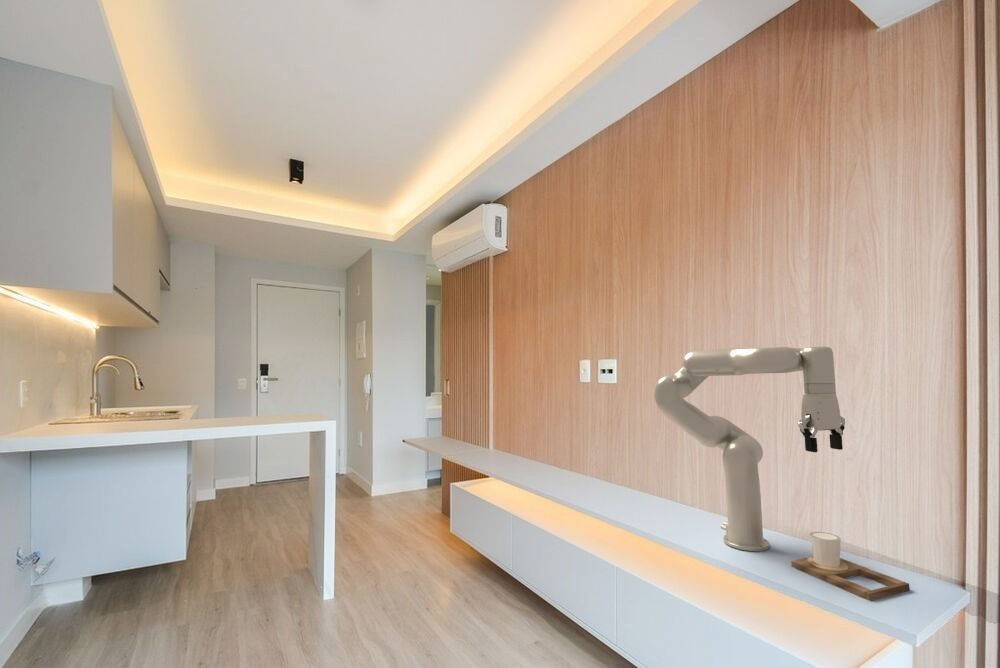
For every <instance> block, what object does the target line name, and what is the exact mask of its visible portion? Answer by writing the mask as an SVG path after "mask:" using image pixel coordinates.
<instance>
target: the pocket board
mask: <svg viewBox="0 0 1000 668" xmlns="http://www.w3.org/2000/svg"><path fill="white" fill-rule="evenodd" d="M790 567H791V568H793V569H796V570H797V571H800V572H802V573H805V574H806V575H810V576H811V577H815V578H816V579H819V580H821V581H823V582H826V583H828V584H831V585H833V586H836V588H837V587H838V588H840V589H842V590H845V591H846V592H850V593H851V594H853V595H856V596H858V597H860V598H862V599H865V600H867V601H874V600H877V599H881V598H885V597H889V596H892V595H897V594H901V593H905V592H908V591H910V590H911V589H910V588H911V587H910V583H908V582H906V581H903V580H901V579H897V578H895V577H893V576H890V575H887V574H884V573H881V572H880V571H879V572H878V571H877V570H874V569H871V568H869V567H866V566H863V565H860V564H858V563H855V562H852V561H850V560H848V559H845V558H842V557H840V565H839V566H838V567H827V566H822V565H820V564H817V563H816V562H815V561H814V558H813V556H809V557H805V558H799V559H794V560H791V561H790ZM856 576H861V577H863V578H867V579H869V580H871V581H874V582H877V583H879V584H882V585H884V586H883V587H880V588H879V587H878V588H875V589H870V588H868V587H865V586H862V585H860V584H858V583H856V582H853V581H850V580H848V578H851V577H856Z"/></svg>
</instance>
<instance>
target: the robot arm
mask: <svg viewBox="0 0 1000 668" xmlns="http://www.w3.org/2000/svg"><path fill="white" fill-rule="evenodd" d="M834 359H835V358H834V351H833V348H831V347H829V346H808V347H804V348H800V347H799V348H797V347H791V346H790V347H789V346H776V347H761V348H759V347H758V348H721V349H719V348H718V349H705V350H701V349H700V350H693V351H690V352H688V353H686V354H685V356H683V359H682V367H681V368H680V369H679V370H678V371H677V372H676V373H675V374H668V375H665V376H662V377H661V378H659V380H657V382H656V383H655V387H654V400H655V403H656V406H657V408H658V409H659V410H660V412H661V413H662V414H663V415H664V416H665V417H667V418H668V419H669V420H670V421H672V422H673V423H674V424H675V425H677V426H678V427H680V428H681V429H682V430H683V431H684V432H686V433H687V434H689V435H690V436H692V438H694V439H696V440H697V442H699V443H700V444H701V445H703V446H705V447H706V448H707V447H708V448H716V447H718V448H719V449H720V450H721V451H723V452H722V465H723V470H724V478H725V479H724V481H725V492H726V493H725V494H726V495H725V496H726V510H727V511H726V512H727V513H726V514H727V521H724V522H723V524H721V525H720V529H721V530H724V531H725V535H723V539H722V540H723V543H725V545H727V546H729V547H731V548H734V549H738V550H742V551H747V552H748V551H750V552H762V551H767V550H768V549H770V547H771V546H770V542H769V540H767V539H766V538H764V531H763V530H764V527H763V514H762V513H763V512H762V499H761V498H762V496H761V495H762V494H761V483H760V476H759V475H760V474H759V464H760V461H762V458H763V455H764V451H763V447H762V445H761V443H760V442H759V441H758V440H757V439H756V438H755V437H753V436H752V435H750V434H749V433H747V432H746V431H744V430H743V429H742V428H740V427H738V426H737V425H736V424H734V423H733V422H732V421H730V420H729V419H726V418H725V417H723V416H720V415H708V414H706V413H705V412H704V411H702V410H701V409H700V408H698V407H697V406H695V405H694V404H692V403H691V402H688V401H687V400H685V398H686V397H688V396H690V395H691V394H692V393H693V392H694V391H695V390H696V389H697V388H698V387H699V386H700V385H701V384H702V383H704V382H705V381H706V379H707V378H709V377H720V376H721V377H722V376H723V377H726V376H742V375H743V376H745V375H749V374H750V375H753V374H755V375H757V374H788V373H795V372H802V374H803V375H802V376H803V377H802V378H803V390H804V394H803V395H802V398H801V399H802V400H801V408H800V409H801V417H800V418H801V419H800V420H799V421H798V422H797V426H798V428H799V431H800V432H801V434H802V437H804V448H805V451H806V452H809V453H810V452H811V453H818V451H819V449H818V438H817V437H816V435H817V433H818V431H820V432H821V431H829V448H830V449H832V450H833V449H834V450H839V451H841V450H844V449H843V439H842V438H843V435H844V431H845V424H846V422H845V419H846V418H844V417H843V416H841V411H840V410H841V409H840V403H839V400H838V397H837V389H836V388H837V387H836V374H835V362H834Z"/></svg>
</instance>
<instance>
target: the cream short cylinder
mask: <svg viewBox="0 0 1000 668" xmlns="http://www.w3.org/2000/svg"><path fill="white" fill-rule="evenodd" d="M809 539H810V543H811V544H810V546H811V551H812V557H813V558H814V561H815V562H816V563H817V564H820V565H822V566H827V567H838V566H839V565H840V558H841V537H840V536H838V535H836V534H833V533H829V532H824V531H823V532H822V531H812V532H810V533H809Z"/></svg>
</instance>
